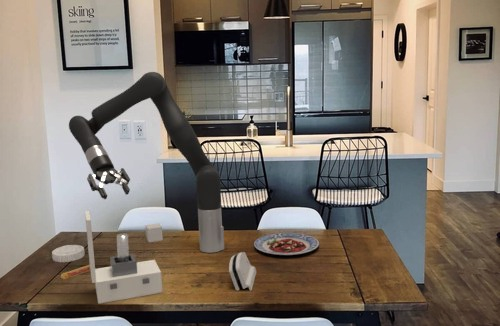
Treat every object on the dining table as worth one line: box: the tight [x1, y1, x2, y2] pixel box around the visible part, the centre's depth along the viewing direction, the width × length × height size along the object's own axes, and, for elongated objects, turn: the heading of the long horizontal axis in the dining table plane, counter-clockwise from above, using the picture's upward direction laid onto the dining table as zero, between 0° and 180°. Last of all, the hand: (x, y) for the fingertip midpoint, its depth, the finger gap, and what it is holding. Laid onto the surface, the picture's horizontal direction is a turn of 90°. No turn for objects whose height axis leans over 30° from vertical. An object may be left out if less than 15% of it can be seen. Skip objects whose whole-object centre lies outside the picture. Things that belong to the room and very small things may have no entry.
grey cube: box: [144, 223, 164, 243], centre depth 217 cm, size 6×6×6 cm
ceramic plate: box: [253, 232, 320, 256], centre depth 201 cm, size 26×26×3 cm
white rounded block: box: [228, 251, 257, 292], centre depth 170 cm, size 17×5×10 cm, turn 173°
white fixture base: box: [84, 210, 163, 304], centre depth 162 cm, size 21×13×27 cm, turn 110°
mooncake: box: [51, 244, 85, 263], centre depth 199 cm, size 12×12×4 cm
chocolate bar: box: [60, 264, 90, 280], centre depth 181 cm, size 3×12×2 cm, turn 138°
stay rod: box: [116, 233, 130, 263], centre depth 163 cm, size 4×4×12 cm
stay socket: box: [109, 253, 137, 277], centre depth 163 cm, size 8×8×4 cm
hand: (117, 195), depth 178 cm, fingers open, 8 cm apart
